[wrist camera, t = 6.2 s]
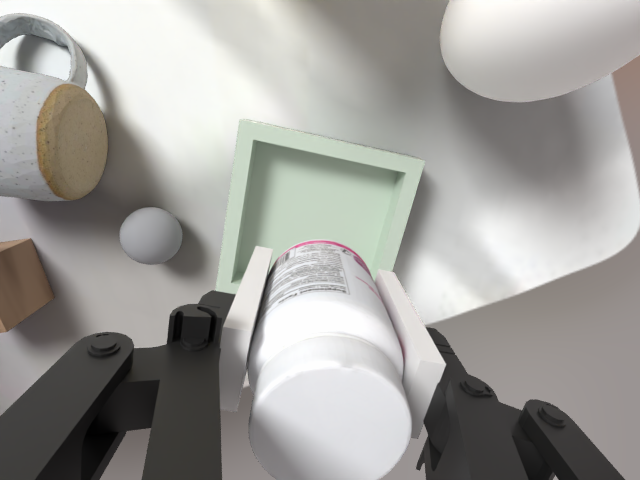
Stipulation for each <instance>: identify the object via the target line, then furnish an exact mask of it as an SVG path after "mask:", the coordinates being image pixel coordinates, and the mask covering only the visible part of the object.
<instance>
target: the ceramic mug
mask: <svg viewBox="0 0 640 480" xmlns="http://www.w3.org/2000/svg"><path fill="white" fill-rule="evenodd" d="M28 34H32V35H36V36H39V37H43V38H47V39H50V40H52V41H55V42H56V43H57V44H58V45H63V46H68V48H69V51H70V54H71V69H70V74H69V78H68V80H67V81H64V80H61V79H59V78H55V77H52V76H48V75H44V74H38V73H32V72H26V71H21V70H16V69H12V68H7V67H3V66H0V196H5V197H16V198H24V199H32V200H40V201H72V200H77V199H80V198H82V197H84V196H86V195H87V194H88V193H90V192H91V191H92V190H93V189H94V188H95V187H96V185H97V184H98V182H99V181H100V178H101V176H102V174H103V172H104V169H105V165H106V160H107V152H108V136H107V129H106V123H105V120H104V117H103V114H102V112H101V110H100V108H99V106H98V104H97V103H96V101H95V100H94V99H93V98H92V97H91V95H90V94H89V93H88V92H87V91H86V90H85V86H86V83H87V78H88V75H87V63H86V60H85V57H84V54H83V52H82V51H81V48H80V47H79V46H78V45H77V43H76V42H75V41H74V40H73V39H72V38H71V36H70V35H69V34H68V33H67V32H66V31H65V30H64V29H62V28H61V27H60V26H59V25H57V24H55V23H53V22H52V21H50V20H48V19H45V18H42V17H39V16H35V15H31V14H24V13H15V14H8V15H5V16H1V17H0V49H1V48H2V47H3V46H4V45H5V44H6V43H7V42H9V41H10V40H11V39H13V38H16V37H18V36H20V35H28Z"/></svg>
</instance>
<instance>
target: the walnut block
mask: <svg viewBox="0 0 640 480" xmlns="http://www.w3.org/2000/svg"><path fill="white" fill-rule="evenodd" d="M54 298H55V297H54V294H53V292H52V290H51V287H50V285H49V282H48V280H47V277H46V275H45V272H44V270H43V267H42V265H41V262H40V260H39V257H38V255H37V252H36V250H35V247H34V245H33V242H32V240H31V238H30V239H22V240H15V241H8V242H0V333H3V332H7V331H9V330H10V329H12V328H13V327H14V326H16V325H17V324H19V323H20V322H21V321H23V320H24V319H26V318H27V317H28V316H30V315H31V314H33V313H34V312H35V311H37V310H38V309H40V308H41V307H42V306H44V305H45V304H47V303H48V302H49V301H51V300H52V299H54Z"/></svg>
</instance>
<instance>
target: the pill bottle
mask: <svg viewBox="0 0 640 480" xmlns="http://www.w3.org/2000/svg"><path fill="white" fill-rule="evenodd" d="M247 369H248V379H249V384H250V387H251V390H252V393H253V395H254V396H253V400H252V407H251V413H250V418H249V439H250V443H251V447H252V450H253V453H254V454H255V456H256V458H257V460H258V462H259V463H260V464H261V465H262V467H263V468H264V469H265V470H266V471H267V472H268V473H269V474H270V475H271V476H272V477H274V478H275V479H276V480H379V479H380V478H382V477H383V476H385V475H386V474H387V473H388V472H389V471H390V470H392V468H393V467H394V466H395V465H396V464H397V463H398V462H399V460H400V459H401V458H402V456H403V455H404V453H405V451H406V449H407V447H408V445H409V442H410V438H411V432H412V416H411V412H410V408H409V404H408V401H407V398H406V395H405V391H404V388H403V385H402V377H403V355H402V350H401V347H400V344H399V340H398V338H397V335H396V333H395V330H394V328H393V325H392V323H391V320H390V318H389V316H388V313H387V311H386V308H385V306H384V304H383V301H382V299H381V297H380V294H379V292H378V290H377V287H376V285H375V283H374V280H373V278H372V276H371V273H370V271H369V269H368V267H367V265H366V264H365V262H364V261H363V259H362V258H361V257H360V256H359V255H358V254H357V253H356V252H355V251H354V250H353V249H351V248H350V247H348V246H346V245H344V244H342V243H340V242H337V241H333V240H327V239H313V240H307V241H304V242H300V243H298V244H295V245H293V246H292V247H290V248H288V249H287V250H286V251H285V252H283V253H282V254H281V255H280V256H279V257H278V259H277V260H276V261H275V263H274V264H273V266H272V268H271V270H270V272H269V275H268V278H267V282H266V286H265V290H264V294H263V298H262V302H261V306H260V310H259V314H258V318H257V322H256V326H255V330H254V333H253V337H252V341H251V346H250V350H249V355H248V366H247Z"/></svg>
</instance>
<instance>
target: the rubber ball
mask: <svg viewBox="0 0 640 480" xmlns="http://www.w3.org/2000/svg"><path fill="white" fill-rule="evenodd" d="M119 235H120V243H121V246H122V248H123V250H124V251H125V253H126V254H127V255H128V256H129V257H130V258H132V259H133V260H135V261H137V262H139V263H143V264H149V265H153V264H159V263H163V262H165V261H167V260H169V259H170V258H172V257H173V256H174V255H175V254H176V253H177V251H178V250H179V248H180V246H181V243H182V236H183V235H182V229H181V226H180V224H179V222H178V221H177V219H176V218H175V217H174V216H173V215H172V214H171V213H169V212H167V211H165V210H163V209H160V208H155V207H147V208H142V209H139V210H136V211H134V212H133V213H131V214H130V215H129V216H128V217H127V218H126V219H125V220H124V222H123V223H122V226H121V229H120V234H119Z"/></svg>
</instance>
